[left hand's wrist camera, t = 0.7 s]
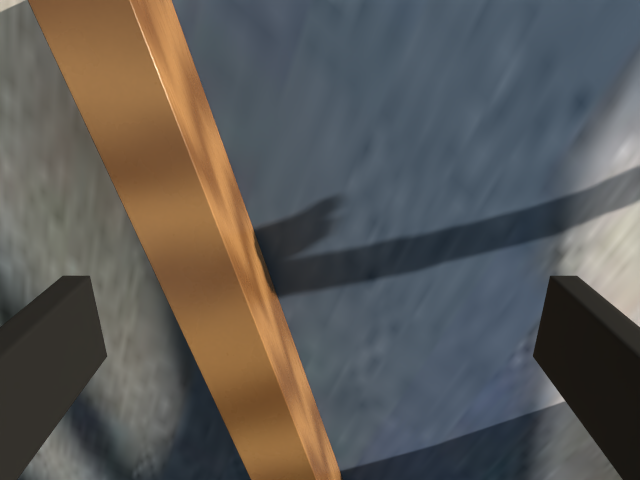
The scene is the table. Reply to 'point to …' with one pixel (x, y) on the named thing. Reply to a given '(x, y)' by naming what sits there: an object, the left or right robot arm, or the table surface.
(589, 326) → the left robot arm
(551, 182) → the table surface
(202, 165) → the plank
